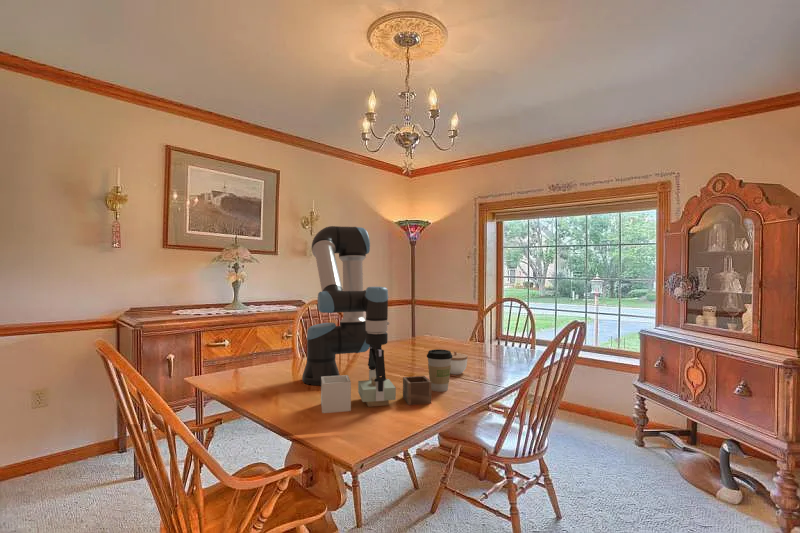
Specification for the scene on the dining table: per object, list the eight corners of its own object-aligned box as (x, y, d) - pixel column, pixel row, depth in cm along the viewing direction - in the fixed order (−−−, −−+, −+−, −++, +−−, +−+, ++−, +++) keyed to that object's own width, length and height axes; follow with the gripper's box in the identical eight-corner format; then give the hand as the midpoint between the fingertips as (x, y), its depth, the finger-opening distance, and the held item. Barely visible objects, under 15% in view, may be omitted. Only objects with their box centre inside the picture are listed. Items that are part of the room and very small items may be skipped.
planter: (320, 406, 139) (321, 376, 139) (347, 404, 141) (347, 375, 141) (322, 415, 130) (322, 383, 130) (350, 413, 132) (350, 382, 132)
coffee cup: (451, 395, 151) (451, 354, 151) (424, 394, 153) (424, 353, 153) (453, 388, 160) (453, 349, 160) (428, 386, 162) (428, 348, 162)
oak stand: (364, 402, 143) (364, 393, 143) (384, 400, 145) (384, 392, 145) (367, 408, 136) (367, 399, 136) (388, 407, 138) (388, 398, 138)
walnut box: (402, 399, 146) (402, 377, 146) (424, 398, 148) (424, 375, 148) (408, 407, 138) (408, 383, 138) (431, 405, 140) (431, 381, 140)
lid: (358, 392, 145) (358, 375, 145) (388, 390, 147) (388, 373, 147) (362, 402, 134) (362, 383, 134) (395, 399, 137) (395, 381, 137)
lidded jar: (469, 375, 179) (469, 354, 179) (444, 375, 179) (444, 354, 179) (465, 369, 190) (465, 349, 190) (442, 369, 190) (442, 349, 190)
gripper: (395, 338, 130) (394, 405, 130) (380, 326, 154) (380, 382, 154) (371, 339, 128) (371, 407, 128) (360, 326, 152) (360, 384, 152)
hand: (376, 394), depth 141 cm, fingers open, 13 cm apart
